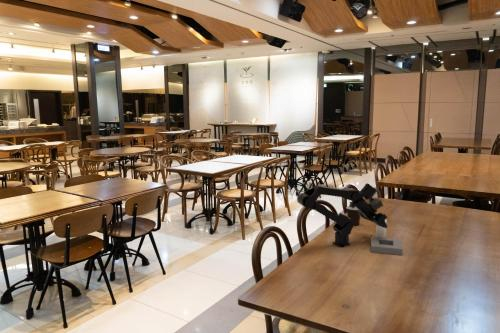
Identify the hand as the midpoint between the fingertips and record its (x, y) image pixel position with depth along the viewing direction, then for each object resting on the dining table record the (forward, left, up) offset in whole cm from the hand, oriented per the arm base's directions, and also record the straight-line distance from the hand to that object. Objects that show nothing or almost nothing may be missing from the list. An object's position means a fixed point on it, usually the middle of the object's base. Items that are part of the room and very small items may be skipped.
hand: (381, 224), depth 195 cm
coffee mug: (+8, +26, -8) cm, 28 cm away
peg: (0, 0, -8) cm, 8 cm away
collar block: (-8, -10, -8) cm, 15 cm away
